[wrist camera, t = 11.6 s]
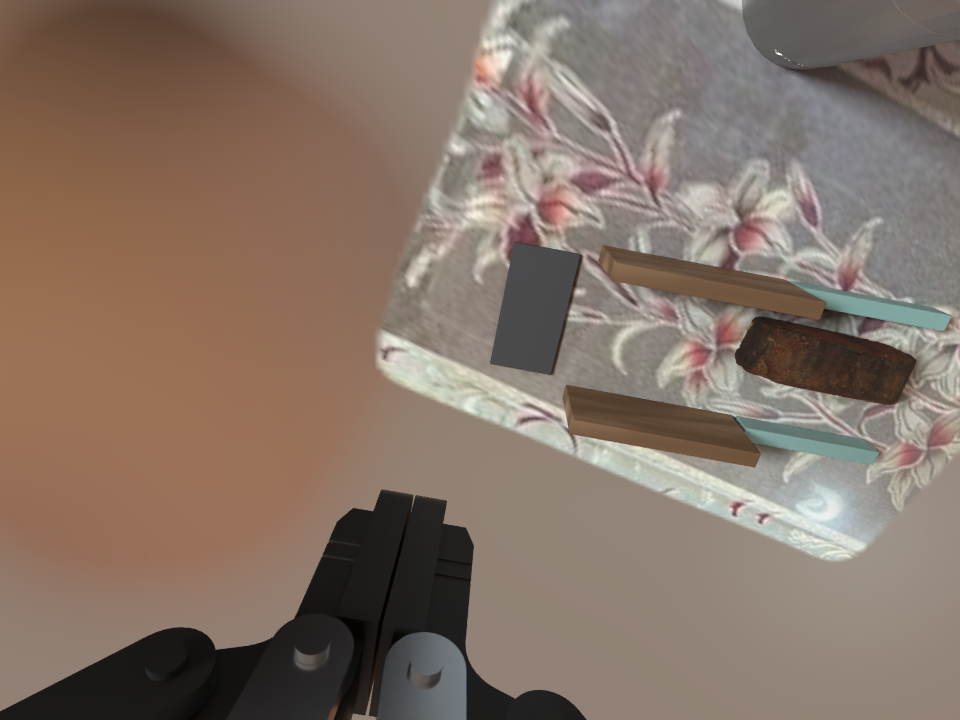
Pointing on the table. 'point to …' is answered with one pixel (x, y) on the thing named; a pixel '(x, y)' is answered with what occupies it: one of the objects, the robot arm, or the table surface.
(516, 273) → the pad
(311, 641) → the robot arm
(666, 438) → the trench
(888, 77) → the table surface
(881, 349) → the brick
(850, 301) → the bay
